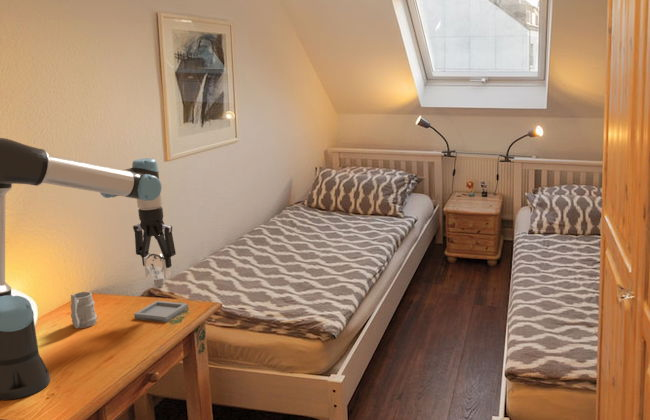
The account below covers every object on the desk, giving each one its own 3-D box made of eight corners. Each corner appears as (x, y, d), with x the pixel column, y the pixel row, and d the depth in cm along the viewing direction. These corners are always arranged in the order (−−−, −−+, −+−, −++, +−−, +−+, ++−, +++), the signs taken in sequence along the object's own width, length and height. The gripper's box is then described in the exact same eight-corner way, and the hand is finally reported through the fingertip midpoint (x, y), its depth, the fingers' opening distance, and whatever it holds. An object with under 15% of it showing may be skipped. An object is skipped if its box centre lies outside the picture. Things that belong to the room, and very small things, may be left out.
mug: (101, 319, 228) (96, 284, 225) (87, 333, 216) (82, 296, 214) (78, 319, 228) (73, 284, 226) (63, 334, 217) (58, 297, 214)
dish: (166, 322, 222) (166, 317, 221) (134, 318, 226) (134, 313, 226) (188, 308, 233) (187, 303, 232) (157, 305, 237) (156, 300, 237)
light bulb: (163, 282, 233) (159, 248, 230) (174, 286, 228) (170, 251, 225) (145, 288, 228) (140, 253, 225) (155, 292, 223) (151, 256, 220)
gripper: (182, 205, 221) (190, 274, 227) (132, 203, 229) (141, 270, 234) (168, 211, 215) (177, 282, 220) (117, 209, 222) (126, 277, 227)
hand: (158, 276), depth 227 cm, fingers closed on light bulb, 6 cm apart
